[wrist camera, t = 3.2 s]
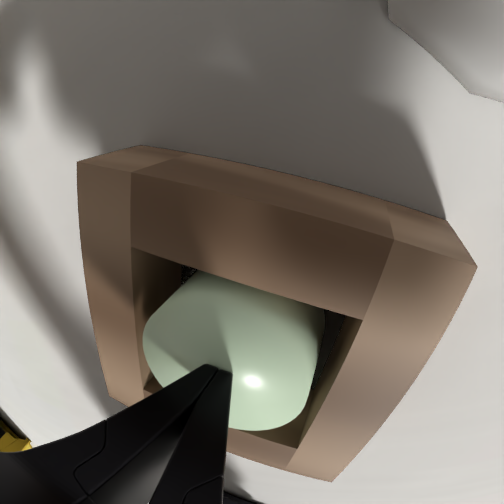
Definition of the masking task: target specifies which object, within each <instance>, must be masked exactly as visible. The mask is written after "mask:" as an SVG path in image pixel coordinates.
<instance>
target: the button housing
mask: <svg viewBox="0 0 504 504" xmlns="http://www.w3.org/2000/svg"><path fill="white" fill-rule="evenodd" d="M77 194H78V213H79V228H80V239H81V249H82V259H83V267H84V275H85V282H86V289H87V295H88V302H89V308H90V313H91V319H92V324H93V329H94V334H95V339H96V344H97V348H98V353H99V357H100V362H101V366H102V370H103V374H104V378H105V382H106V385H107V389H108V393H109V396H110V397H112V398H114V399H115V400H117V401H119V402H121V403H123V404H124V405H126V406H128V407H130V406H131V405H133V404H135V403H137V402H139V401H141V400H142V399H144V398H146V397H148V396H150V395H151V394H153V393H155V392H157V391H158V390H160V389H162V388H163V387H162V385H161V384H160V383H159V382H158V380H157V379H156V378H155V376H154V375H153V373H152V371H151V369H150V367H149V365H148V363H147V361H146V358H145V354H144V350H143V331H144V328H145V325H146V323H147V321H148V320H149V318H150V317H151V316H152V315H153V314H154V313H155V312H156V311H157V310H158V309H159V308H160V307H161V306H162V305H163V304H164V303H165V302H166V301H167V300H168V299H169V298H170V297H171V296H172V295H173V294H174V293H175V292H176V291H177V290H178V289H179V288H180V287H181V275H182V264H183V265H186V266H189V267H192V268H195V269H198V270H201V271H204V272H207V273H210V274H214V275H217V276H220V277H223V278H226V279H229V280H232V281H235V282H238V283H242V284H245V285H248V286H251V287H254V288H257V289H261V290H264V291H267V292H270V293H273V294H277V295H280V296H283V297H287V298H290V299H293V300H296V301H300V302H303V303H306V304H310V305H313V306H316V307H320V308H323V309H326V310H330V311H333V312H337V313H340V314H344V315H346V316H345V319H344V321H343V324H342V326H341V329H340V331H339V334H338V336H337V338H336V341H335V343H334V346H333V348H332V350H331V353H330V355H329V357H328V360H327V362H326V364H325V366H324V369H323V371H322V373H321V375H320V378H319V380H318V382H317V384H316V386H315V389H314V390H313V389H310V391H309V395H308V398H307V401H306V404H305V406H304V408H303V410H302V411H301V413H300V414H299V415H298V416H297V417H296V418H295V419H293V420H292V421H290V422H289V423H287V424H285V425H283V426H280V427H277V428H273V429H269V430H259V431H249V430H240V429H234V428H230V427H228V438H227V449H226V451H227V452H230V453H232V454H235V455H238V456H241V457H244V458H247V459H249V460H252V461H255V462H259V463H262V464H265V465H268V466H271V467H275V468H278V469H281V470H285V471H288V472H292V473H296V474H299V475H303V476H307V477H311V478H315V479H320V480H324V481H328V482H332V481H333V480H334V479H335V478H336V477H337V476H338V475H339V474H340V473H341V472H342V471H343V470H344V469H345V468H346V466H347V465H348V464H349V463H350V462H351V461H352V460H353V459H354V458H355V457H356V455H357V454H358V453H359V452H360V451H361V450H362V449H363V447H364V446H365V445H366V444H367V443H368V441H369V440H370V439H371V438H372V437H373V435H374V434H375V433H376V432H377V431H378V429H379V428H380V427H381V426H382V424H383V423H384V422H385V420H386V419H387V418H388V417H389V415H390V414H391V413H392V411H393V410H394V409H395V407H396V406H397V405H398V403H399V402H400V401H401V399H402V398H403V396H404V395H405V394H406V392H407V391H408V389H409V388H410V386H411V385H412V383H413V382H414V381H415V379H416V378H417V376H418V375H419V373H420V372H421V370H422V368H423V367H424V365H425V364H426V362H427V361H428V359H429V357H430V356H431V354H432V353H433V351H434V349H435V348H436V346H437V344H438V343H439V341H440V339H441V338H442V336H443V334H444V332H445V331H446V329H447V327H448V325H449V323H450V322H451V320H452V318H453V316H454V314H455V312H456V311H457V309H458V307H459V305H460V303H461V301H462V299H463V297H464V295H465V293H466V291H467V289H468V287H469V285H470V282H471V280H472V278H473V276H474V274H475V272H476V269H477V265H476V263H475V262H474V260H473V259H472V257H471V256H470V254H469V252H468V251H467V249H466V248H465V246H464V245H463V243H462V242H461V240H460V239H459V237H458V236H457V234H456V233H455V231H454V230H453V229H452V227H451V226H450V224H449V223H448V221H446V220H443V219H440V218H437V217H435V216H432V215H429V214H426V213H423V212H420V211H417V210H414V209H411V208H408V207H404V206H401V205H398V204H395V203H392V202H389V201H385V200H382V199H379V198H375V197H372V196H369V195H365V194H362V193H358V192H355V191H351V190H348V189H344V188H341V187H337V186H333V185H330V184H326V183H322V182H318V181H314V180H311V179H307V178H303V177H299V176H295V175H290V174H286V173H282V172H278V171H274V170H269V169H265V168H261V167H256V166H251V165H247V164H242V163H237V162H233V161H228V160H223V159H218V158H213V157H208V156H202V155H197V154H191V153H186V152H180V151H174V150H168V149H162V148H156V147H150V146H143V145H139V146H134V147H130V148H126V149H122V150H118V151H114V152H110V153H107V154H103V155H99V156H95V157H92V158H88V159H85V160H81V161H78V162H77Z"/></svg>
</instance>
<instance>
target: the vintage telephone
mask: <svg viewBox="0 0 504 504" xmlns="http://www.w3.org/2000/svg"><path fill="white" fill-rule="evenodd" d="M30 442H31V440H29V439H28V438H26V440H23V439H20V438H19V437H18V436H16V435H15V434H14V433H13V432H12V431H11V430H10V428H9V427H8V426H7V425H6V424H5V423H4V422H3V421H2V420H1V419H0V452H18V451H24V450H28V449H31V448H32V446H31V445H30Z"/></svg>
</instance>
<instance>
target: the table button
mask: <svg viewBox="0 0 504 504" xmlns="http://www.w3.org/2000/svg"><path fill="white" fill-rule="evenodd" d="M324 330H325V315H324V310H323V308H320V307H316V306H313V305H310V304H306V303H303V302H300V301H296V300H293V299H290V298H287V297H283V296H280V295H277V294H273V293H270V292H267V291H264V290H261V289H257V288H254V287H251V286H248V285H245V284H242V283H238V282H235V281H232V280H229V279H226V278H223V277H220V276H217V275H214V274H210V273H207V272H204V271H201V270H197V271H196V272H195V273H194V274H193V275H192V276H191V277H190V278H189V279H188V280H187V281H186V282H185V283H184V284H183V285H182V286H181V287H180V288H179V289H178V290H177V291H176V292H175V293H174V294H173V295H172V296H171V297H170V298H169V299H168V300H167V301H166V302H165V303H164V304H163V305H162V306H161V307H160V308H159V309H158V310H157V311H156V312H155V313H154V314H153V315H152V316H151V317H150V318H149V320H148V321H147V323H146V325H145V328H144V331H143V350H144V354H145V358H146V361H147V363H148V365H149V367H150V369H151V371H152V373H153V375H154V376H155V378H156V379H157V380H158V382H159V383H160V384H161V385H162V387H163V388H164V387H166V386H167V385H169V384H171V383H172V382H174V381H176V380H178V379H179V378H181V377H183V376H184V375H186V374H188V373H190V372H191V371H193V370H195V369H196V368H198V367H200V366H201V365H203V364H210V365H212V366H215V367H217V368H218V369H223V370H226V371H228V372H231V373H232V374H233V382H232V393H231V404H230V415H229V426H228V427H230V428H234V429H240V430H249V431H259V430H269V429H273V428H277V427H280V426H283V425H285V424H287V423H289V422H290V421H292V420H293V419H295V418H296V417H297V416H298V415H299V414H300V413H301V411H302V410H303V408H304V406H305V404H306V401H307V398H308V395H309V391H310V387H311V384H312V380H313V376H314V372H315V368H316V364H317V360H318V356H319V352H320V348H321V344H322V340H323V335H324Z"/></svg>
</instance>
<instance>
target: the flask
mask: <svg viewBox="0 0 504 504" xmlns="http://www.w3.org/2000/svg"><path fill="white" fill-rule="evenodd" d="M388 16H389V20H390V21H391V22H393V23H394V24H395V25H397V26H398V27H399V28H400V29H402V30H403V31H404V32H405V33H407V34H408V35H409V36H410V37H411V38H413V39H414V40H415V41H416V42H417V43H418V44H420V45H421V46H422V47H423V48H424V49H425V50H426V51H428V52H429V53H430V54H431V55H432V56H433V57H434V58H435V59H436V60H437V61H438V62H440V63H441V64H442V65H443V66H444V67H445V68H446V69H447V70H448V71H449V72H450V73H451V74H452V75H453V76H454V77H455V78H456V79H457V80H458V81H459V82H460V83H461V84H462V85H463V86H464V88H465V89H466V90H467V91H468V92H469V93H471V94H475V95H478V96H482V97H486V98H489V99H493V100H496V101H499V102H503V103H504V0H388Z"/></svg>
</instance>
